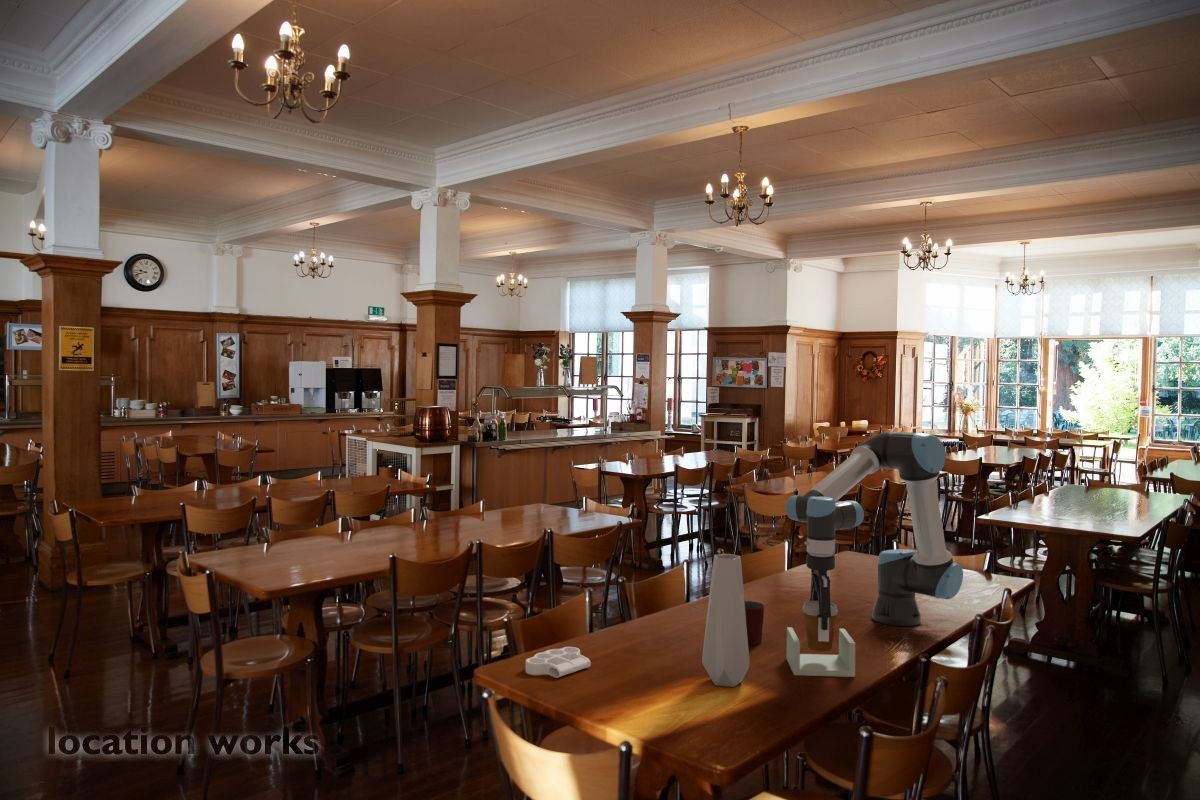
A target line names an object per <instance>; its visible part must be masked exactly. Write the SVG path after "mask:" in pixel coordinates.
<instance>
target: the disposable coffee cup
mask: <svg viewBox="0 0 1200 800" xmlns="http://www.w3.org/2000/svg"><path fill="white" fill-rule="evenodd" d="M830 604H831V617H829V642H825V641H818V618H817V615H819V603H818V601H810V600H808V601H805V602H804V603H803V606H802V608H801V610H802V612H803V615H804V624H805V631H806V633H805V634H806V640H807V642H806V643H807V648H808V649H809V650H811V651H815V652H822V653H823V652H830V651H831V650H832V649H833V641H834V635H835V625H836V619H837V614H838V612H839V609H838V608H837V605H836V604H835V603H834V602H831V601H830ZM825 613H827V612H825Z"/></svg>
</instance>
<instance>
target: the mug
mask: <svg viewBox="0 0 1200 800" xmlns="http://www.w3.org/2000/svg"><path fill="white" fill-rule="evenodd" d="M744 603H745V615H746V627H747V638H748V646H755V645H760V644H761V643H762V637H763V629H764V627H763V626H764V618H765V617H764V616H765V615H764V614H765V605H764V604H763V603H761V602H757V601H750V600H744Z"/></svg>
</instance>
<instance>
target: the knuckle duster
mask: <svg viewBox="0 0 1200 800" xmlns="http://www.w3.org/2000/svg"><path fill="white" fill-rule="evenodd" d="M591 665H592V662H591V660H590V659H589V658H588V657H587V656H584V655H583V654H581V650H580V648H578V647H576V646H575V647H574V646H564V647H561V648H552V649H547V650H545V651H541V652H537V653H536V654H534V656H532V657H529V658H526V659H525V673H526V674H527V675H532V676H542V675H546V676H547V675H549V676H550V677H553V678H557V679H558V678H561V677H563V676H566V675H569V674H572V673H575V672H577V671H581V670H584V669H588V668H589V667H591Z"/></svg>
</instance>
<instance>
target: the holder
mask: <svg viewBox="0 0 1200 800" xmlns="http://www.w3.org/2000/svg"><path fill="white" fill-rule="evenodd" d="M786 660H787V663H788V665H789V667H790V670H791V671H792V674H793V675H794V676H809V677H811V676H815V677H844V678H847V677H848V678H849V677H850V678H851V677H852V678H855V677H856V642H855V641H854V639H853V638H852V637H851V635H850V634H849V633H848V631H847V630H846V629H845V628H838V654H819V653H818V654H817V653H816V654H815V653H814V654H813V653H801V641H800V639H799V637H798V636H797V633H796V632H795V630H794V628H793V627H789V626H787V627H786Z"/></svg>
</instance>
